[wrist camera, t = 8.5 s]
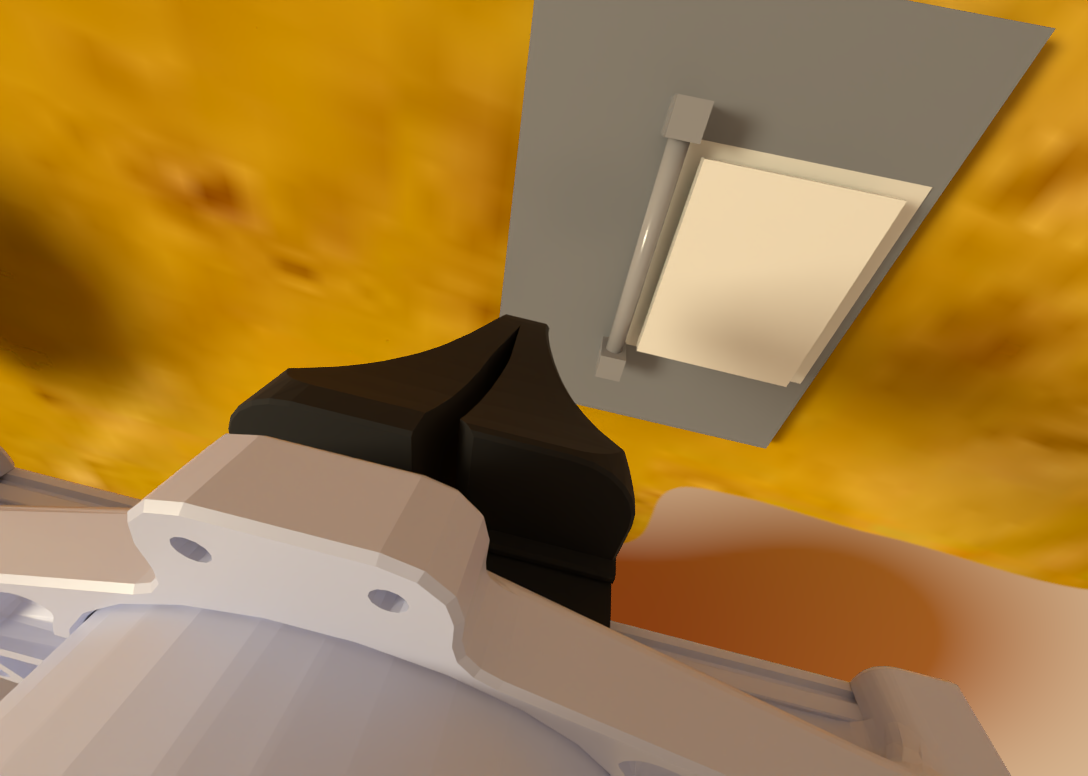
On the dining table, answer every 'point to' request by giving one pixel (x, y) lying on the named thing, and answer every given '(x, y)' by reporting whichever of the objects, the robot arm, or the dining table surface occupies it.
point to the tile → (760, 269)
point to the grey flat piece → (730, 136)
